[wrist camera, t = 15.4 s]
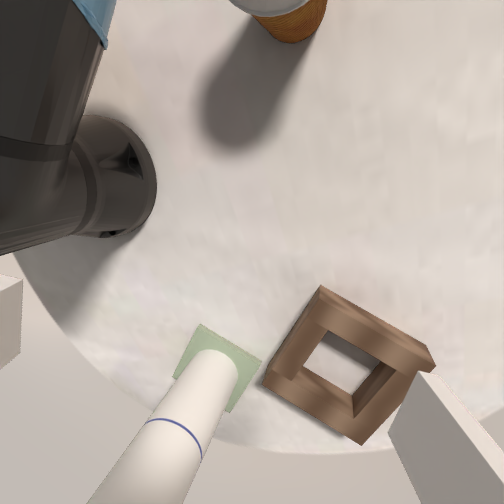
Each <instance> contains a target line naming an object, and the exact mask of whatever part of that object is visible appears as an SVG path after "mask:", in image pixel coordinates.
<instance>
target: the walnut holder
mask: <svg viewBox="0 0 504 504" xmlns="http://www.w3.org/2000/svg"><path fill="white" fill-rule="evenodd" d="M328 330H329V331H331V332H332V333H334V334H336V335H338V336H339V337H341V338H343V339H344V340H346V341H348V342H350V343H351V344H353V345H355V346H356V347H358V348H360V349H362V350H363V351H365V352H367V353H368V354H370V355H372V356H373V357H375V358H377V359H379V360H380V361H381V362H380V363H379V364H378V365H377V367H376V368H375V369H374V370H373V371H372V373H371V374H370V375H369V376H368V377H367V379H366V380H365V381H364V382H363V383H362V385H361V386H360V387H359V388H358V389H357V391H356V392H355V393H354V394H353V395H350V394H348V393H347V392H345V391H343V390H342V389H340V388H338V387H337V386H335V385H333V384H332V383H330V382H328V381H327V380H325V379H323V378H322V377H320V376H318V375H317V374H315V373H313V372H312V371H310V370H308V369H307V368H305V367H303V364H304V363H305V362H306V360H307V359H308V357H309V356H310V355H311V353H312V352H313V350H314V349H315V348H316V346H317V345H318V343H319V342H320V341H321V339H322V338H323V336H324V335H325V334H326V332H327V331H328ZM435 367H436V365H435V363H434V361H433V359H432V357H431V355H430V352H429V350H428V348H427V346H426V345H425V344H423V343H421V342H419V341H418V340H416V339H414V338H412V337H411V336H409V335H407V334H405V333H404V332H402V331H400V330H398V329H397V328H395V327H393V326H391V325H390V324H388V323H386V322H385V321H383V320H381V319H379V318H378V317H376V316H374V315H372V314H371V313H369V312H367V311H365V310H364V309H362V308H360V307H358V306H357V305H355V304H353V303H351V302H350V301H348V300H346V299H344V298H343V297H341V296H339V295H337V294H336V293H334V292H332V291H330V290H329V289H327V288H325V287H323V286H322V285H320V287H319V288H318V290H317V291H316V293H315V294H314V296H313V297H312V299H311V300H310V302H309V304H308V305H307V307H306V308H305V310H304V311H303V313H302V314H301V316H300V317H299V319H298V320H297V322H296V323H295V325H294V326H293V328H292V329H291V331H290V333H289V334H288V336H287V337H286V339H285V340H284V342H283V343H282V345H281V346H280V348H279V349H278V351H277V352H276V354H275V355H274V357H273V358H272V360H271V362H270V363H269V365H268V367H267V370H266V373H265V376H264V379H263V382H262V385H263V386H265V387H267V388H268V389H270V390H271V391H273V392H275V393H276V394H278V395H280V396H281V397H283V398H284V399H286V400H288V401H289V402H291V403H293V404H294V405H296V406H297V407H299V408H301V409H302V410H304V411H306V412H307V413H309V414H310V415H312V416H314V417H315V418H317V419H319V420H320V421H322V422H323V423H325V424H327V425H328V426H330V427H332V428H333V429H335V430H336V431H338V432H340V433H341V434H343V435H345V436H346V437H348V438H349V439H351V440H353V441H354V442H356V443H358V444H359V445H361V446H362V445H363V444H364V443H365V442H366V440H367V439H368V438H369V437H370V436H371V435H372V434H373V433H374V432H375V431H376V430H377V429H378V428H379V427H380V425H381V424H382V423H383V422H384V421H385V420H386V419H387V418H388V417H389V416H390V415H391V414H392V413H393V412H394V411H395V409H396V408H397V407H398V406H399V405H400V404H401V403H402V402H403V400H404V398H405V396H406V394H407V392H408V390H409V388H410V386H411V384H412V382H413V380H414V378H415V376H416V374H417V372H418V371H422V372H426V373H430V372H431V371H432V370H433V369H434V368H435Z"/></svg>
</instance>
